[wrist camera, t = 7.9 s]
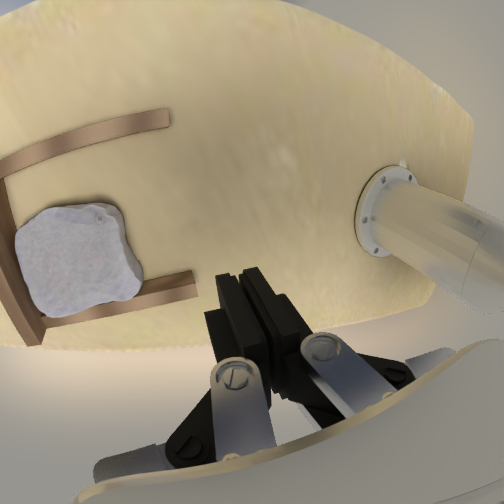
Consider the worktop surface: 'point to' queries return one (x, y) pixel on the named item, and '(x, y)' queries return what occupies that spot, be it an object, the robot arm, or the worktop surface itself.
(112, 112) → the worktop surface
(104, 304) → the brown u-shaped frame
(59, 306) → the stone block
